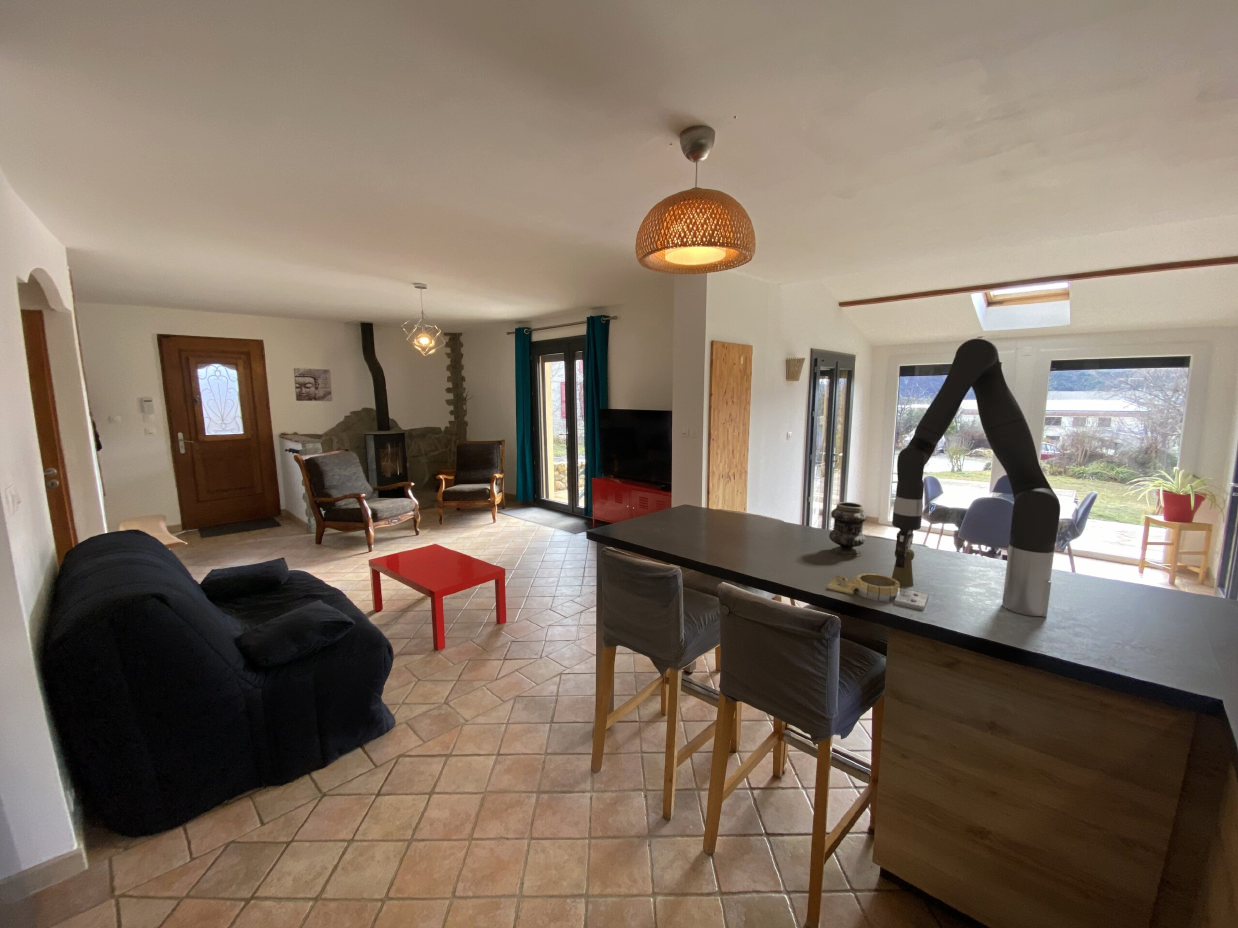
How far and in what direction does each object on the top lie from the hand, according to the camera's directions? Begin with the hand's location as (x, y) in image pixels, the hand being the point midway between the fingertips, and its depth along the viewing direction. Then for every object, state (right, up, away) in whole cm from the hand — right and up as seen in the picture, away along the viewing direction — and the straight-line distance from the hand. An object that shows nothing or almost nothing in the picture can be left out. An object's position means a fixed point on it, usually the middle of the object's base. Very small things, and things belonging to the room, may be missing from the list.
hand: (902, 563), depth 151 cm
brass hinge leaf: (-14, -7, -5) cm, 17 cm away
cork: (0, -6, +1) cm, 6 cm away
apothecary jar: (-3, -2, +30) cm, 30 cm away
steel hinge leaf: (-9, -8, -9) cm, 15 cm away
